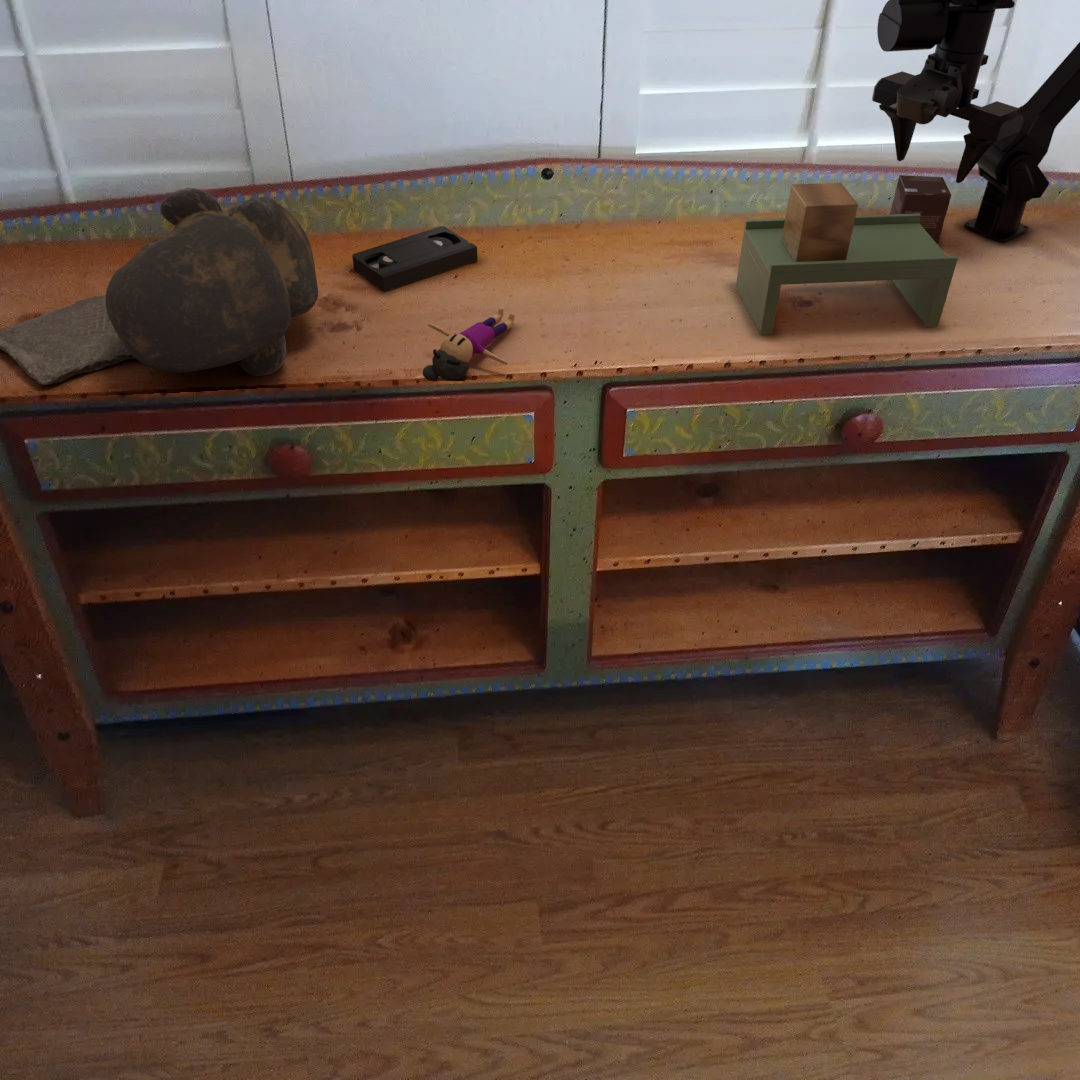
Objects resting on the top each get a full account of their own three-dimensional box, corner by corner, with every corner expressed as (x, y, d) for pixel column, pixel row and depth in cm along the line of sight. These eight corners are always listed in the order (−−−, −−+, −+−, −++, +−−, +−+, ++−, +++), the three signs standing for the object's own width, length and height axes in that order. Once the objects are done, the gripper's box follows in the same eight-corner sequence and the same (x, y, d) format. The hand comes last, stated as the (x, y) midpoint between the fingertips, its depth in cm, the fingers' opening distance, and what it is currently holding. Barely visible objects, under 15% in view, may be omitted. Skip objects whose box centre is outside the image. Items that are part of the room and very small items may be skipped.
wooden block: (829, 239, 128) (841, 182, 124) (845, 262, 124) (858, 204, 119) (781, 240, 128) (791, 184, 123) (795, 264, 123) (806, 206, 118)
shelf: (902, 279, 138) (919, 213, 132) (938, 326, 129) (958, 257, 123) (735, 286, 136) (745, 219, 130) (760, 335, 127) (771, 265, 121)
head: (250, 151, 125) (49, 239, 117) (310, 136, 106) (76, 240, 98) (328, 314, 135) (146, 407, 126) (395, 327, 116) (187, 437, 108)
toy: (547, 324, 125) (488, 365, 113) (535, 364, 128) (476, 409, 116) (472, 287, 127) (406, 324, 115) (461, 327, 130) (396, 367, 118)
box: (930, 227, 149) (944, 176, 144) (938, 247, 145) (952, 194, 140) (886, 225, 150) (898, 174, 145) (892, 244, 145) (905, 192, 140)
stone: (173, 330, 121) (50, 384, 113) (178, 352, 123) (58, 406, 115) (93, 278, 129) (-27, 325, 121) (99, 299, 131) (-18, 346, 123)
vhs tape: (443, 239, 145) (442, 225, 143) (477, 260, 140) (477, 246, 139) (352, 268, 138) (350, 254, 137) (384, 292, 133) (383, 277, 132)
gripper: (858, 40, 132) (834, 164, 143) (989, 80, 122) (953, 211, 132) (912, 24, 138) (886, 144, 148) (1043, 61, 127) (1004, 188, 137)
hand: (929, 171), depth 141 cm, fingers open, 9 cm apart
